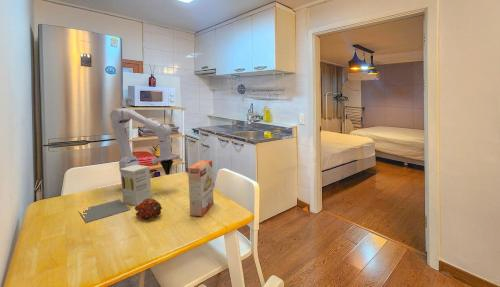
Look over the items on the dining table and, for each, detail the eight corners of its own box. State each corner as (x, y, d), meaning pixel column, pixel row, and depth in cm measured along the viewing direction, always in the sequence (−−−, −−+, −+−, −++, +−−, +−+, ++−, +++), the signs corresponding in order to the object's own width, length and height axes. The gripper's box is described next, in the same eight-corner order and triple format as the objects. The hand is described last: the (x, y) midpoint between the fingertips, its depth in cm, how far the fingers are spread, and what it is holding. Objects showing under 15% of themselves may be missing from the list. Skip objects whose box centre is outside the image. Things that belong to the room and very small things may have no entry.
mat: (78, 210, 113) (78, 210, 113) (119, 200, 124) (119, 199, 124) (86, 223, 101) (85, 222, 101) (130, 209, 113) (130, 209, 113)
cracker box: (203, 217, 104) (200, 168, 101) (189, 216, 106) (186, 167, 102) (214, 203, 118) (212, 159, 114) (202, 202, 119) (200, 159, 115)
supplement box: (122, 202, 121) (118, 168, 118) (139, 196, 129) (135, 164, 126) (136, 206, 117) (133, 171, 114) (152, 199, 125) (149, 166, 122)
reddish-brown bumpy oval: (162, 223, 104) (138, 224, 107) (169, 204, 109) (145, 206, 113) (151, 212, 98) (125, 214, 101) (159, 193, 104) (134, 195, 107)
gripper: (154, 151, 122) (157, 179, 124) (182, 147, 131) (183, 172, 134) (148, 150, 127) (151, 176, 129) (175, 145, 136) (177, 170, 139)
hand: (167, 174), depth 132 cm, fingers closed
